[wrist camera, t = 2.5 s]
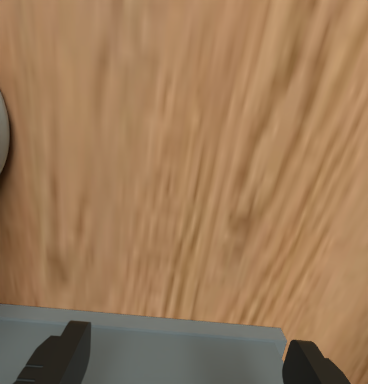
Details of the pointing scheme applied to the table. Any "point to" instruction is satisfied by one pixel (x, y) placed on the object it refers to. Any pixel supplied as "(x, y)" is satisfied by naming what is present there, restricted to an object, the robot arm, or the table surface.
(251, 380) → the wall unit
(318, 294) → the table surface
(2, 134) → the cylinder vase
